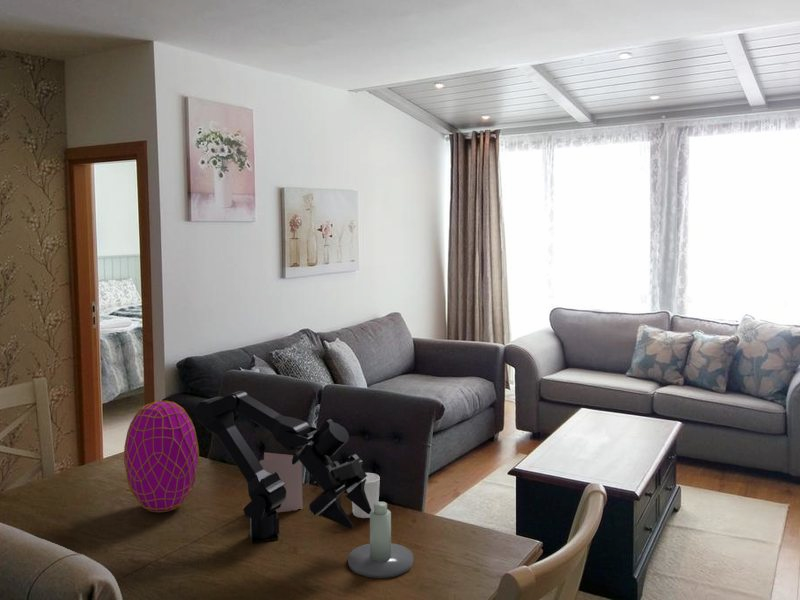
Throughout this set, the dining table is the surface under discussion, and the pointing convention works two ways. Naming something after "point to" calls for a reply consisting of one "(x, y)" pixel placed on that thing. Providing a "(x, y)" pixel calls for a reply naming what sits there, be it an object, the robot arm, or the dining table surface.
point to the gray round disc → (390, 568)
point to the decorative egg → (161, 456)
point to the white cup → (369, 494)
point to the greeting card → (286, 478)
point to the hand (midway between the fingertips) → (361, 520)
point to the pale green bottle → (380, 532)
